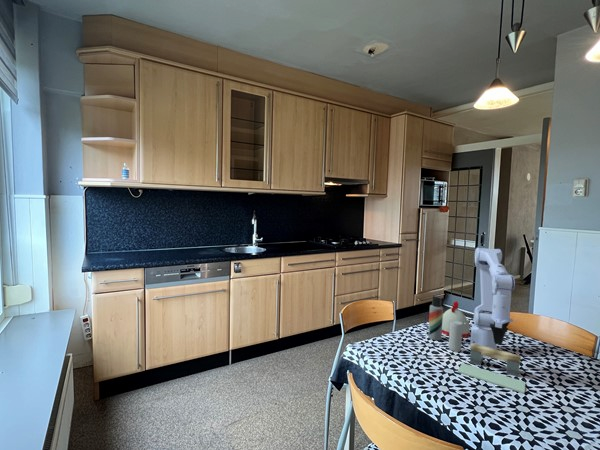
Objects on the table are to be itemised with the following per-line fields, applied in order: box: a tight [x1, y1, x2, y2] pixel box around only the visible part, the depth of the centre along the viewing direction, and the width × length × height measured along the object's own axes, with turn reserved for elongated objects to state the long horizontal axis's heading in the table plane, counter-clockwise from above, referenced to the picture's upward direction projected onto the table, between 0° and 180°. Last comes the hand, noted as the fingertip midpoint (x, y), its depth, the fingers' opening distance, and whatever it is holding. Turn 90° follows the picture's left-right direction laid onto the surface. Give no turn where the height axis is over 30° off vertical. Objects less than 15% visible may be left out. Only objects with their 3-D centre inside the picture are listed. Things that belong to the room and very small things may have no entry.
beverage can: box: [448, 321, 463, 353], centre depth 132 cm, size 5×5×12 cm
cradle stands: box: [469, 348, 520, 378], centre depth 118 cm, size 16×5×5 cm, turn 52°
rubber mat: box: [457, 362, 526, 394], centre depth 111 cm, size 20×8×1 cm, turn 52°
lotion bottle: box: [427, 295, 444, 341], centre depth 144 cm, size 6×6×20 cm
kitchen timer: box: [442, 300, 471, 338], centre depth 152 cm, size 14×14×15 cm
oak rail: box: [470, 343, 522, 366], centre depth 118 cm, size 16×3×2 cm, turn 52°
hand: (498, 340), depth 118 cm, fingers open, 7 cm apart
